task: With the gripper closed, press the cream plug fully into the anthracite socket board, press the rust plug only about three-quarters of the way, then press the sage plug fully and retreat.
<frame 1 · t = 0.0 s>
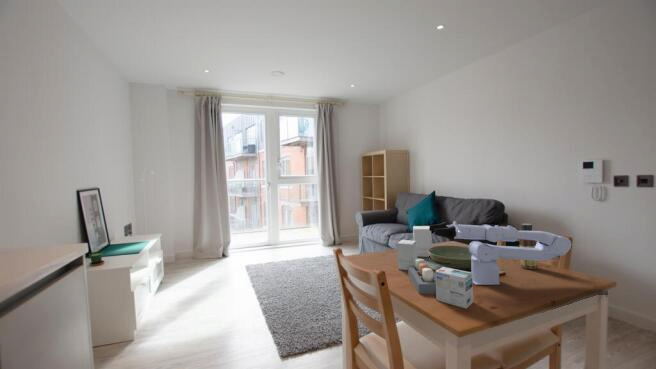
hand: (432, 230, 119), 22 cm above the table, tool horizontal, fingers open, 7 cm apart
plug cream: (427, 275, 114), point 5 cm above the table, slide at 0.0 cm
supplement box 2: (422, 254, 159), on the table
socket board: (424, 282, 120), on the table
supplement box: (407, 268, 139), on the table
light bulb box: (454, 302, 103), on the table
plug sage: (420, 265, 126), point 5 cm above the table, slide at 0.0 cm
sauce bottle: (528, 268, 132), on the table
plug rust: (423, 270, 120), point 5 cm above the table, slide at 0.0 cm
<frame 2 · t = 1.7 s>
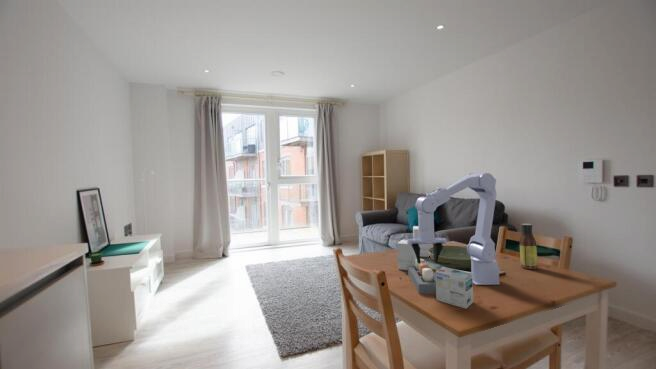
hand: (427, 262, 114), 10 cm above the table, tool pointing down, fingers open, 6 cm apart
nothing on the table moved.
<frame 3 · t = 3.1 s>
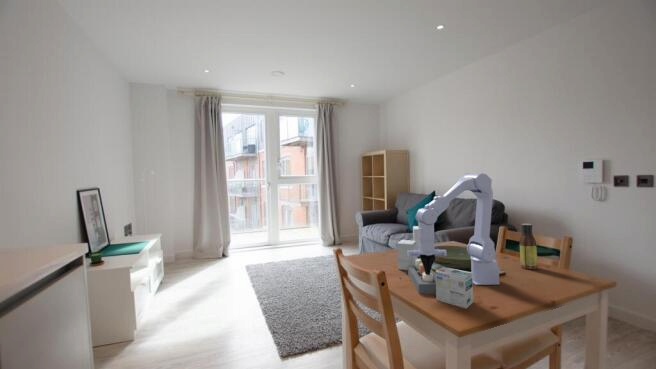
hand: (427, 273, 114), 6 cm above the table, tool pointing down, fingers closed, pressing on plug cream
plug cream: (427, 279, 114), point 4 cm above the table, slide at 1.7 cm, touching gripper
everything else where it was.
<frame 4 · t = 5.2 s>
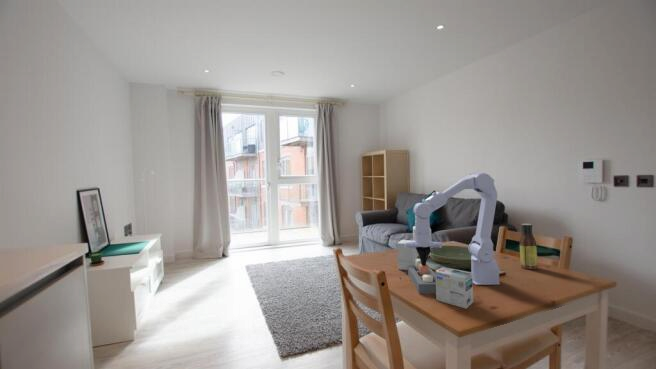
hand: (423, 265, 120), 7 cm above the table, tool pointing down, fingers closed, pressing on plug rust
plug cream: (427, 281, 114), point 3 cm above the table, slide at 2.6 cm
plug rust: (423, 270, 120), point 5 cm above the table, slide at 0.2 cm, touching gripper
everything else where it was.
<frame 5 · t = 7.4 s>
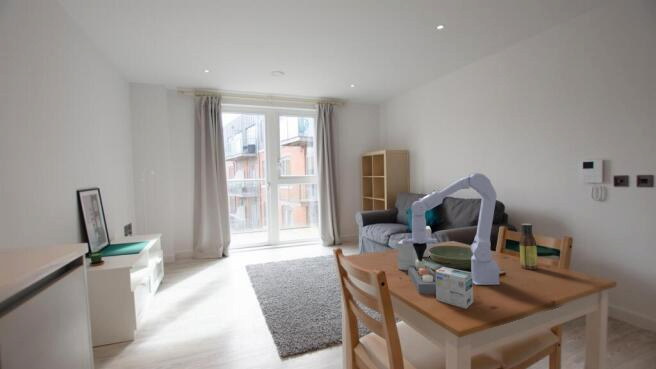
hand: (420, 260, 126), 7 cm above the table, tool pointing down, fingers closed, pressing on plug sage
plug sage: (420, 265, 126), point 5 cm above the table, slide at 0.2 cm, touching gripper
plug rust: (423, 274, 120), point 3 cm above the table, slide at 2.0 cm
everything else where it was.
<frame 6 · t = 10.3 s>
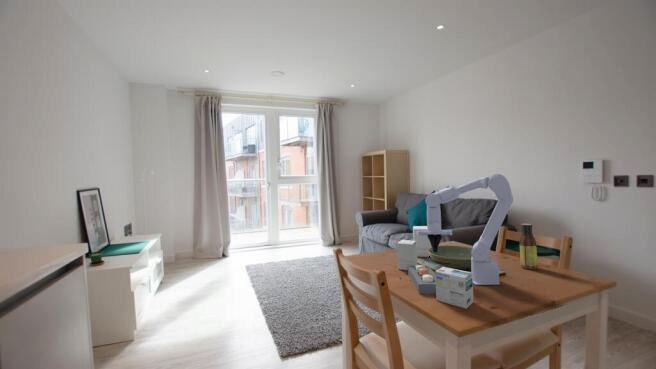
hand: (434, 251, 128), 10 cm above the table, tool pointing down, fingers closed
plug sage: (420, 271, 126), point 3 cm above the table, slide at 2.6 cm
everything else where it was.
at the end: plug cream slide at 2.6 cm; plug sage slide at 2.6 cm; plug rust slide at 2.0 cm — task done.
